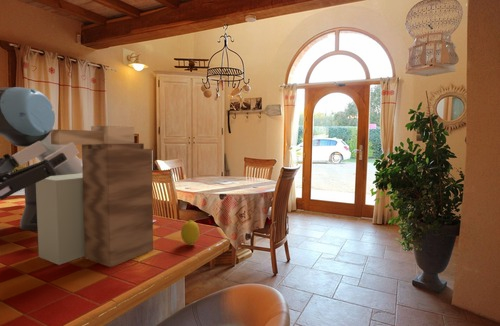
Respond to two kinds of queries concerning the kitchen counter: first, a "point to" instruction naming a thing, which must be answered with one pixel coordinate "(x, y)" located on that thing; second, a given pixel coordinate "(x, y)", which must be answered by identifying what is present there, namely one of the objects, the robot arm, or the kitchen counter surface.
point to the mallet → (94, 136)
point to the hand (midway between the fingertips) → (58, 146)
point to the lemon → (190, 232)
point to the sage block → (60, 218)
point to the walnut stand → (117, 202)
